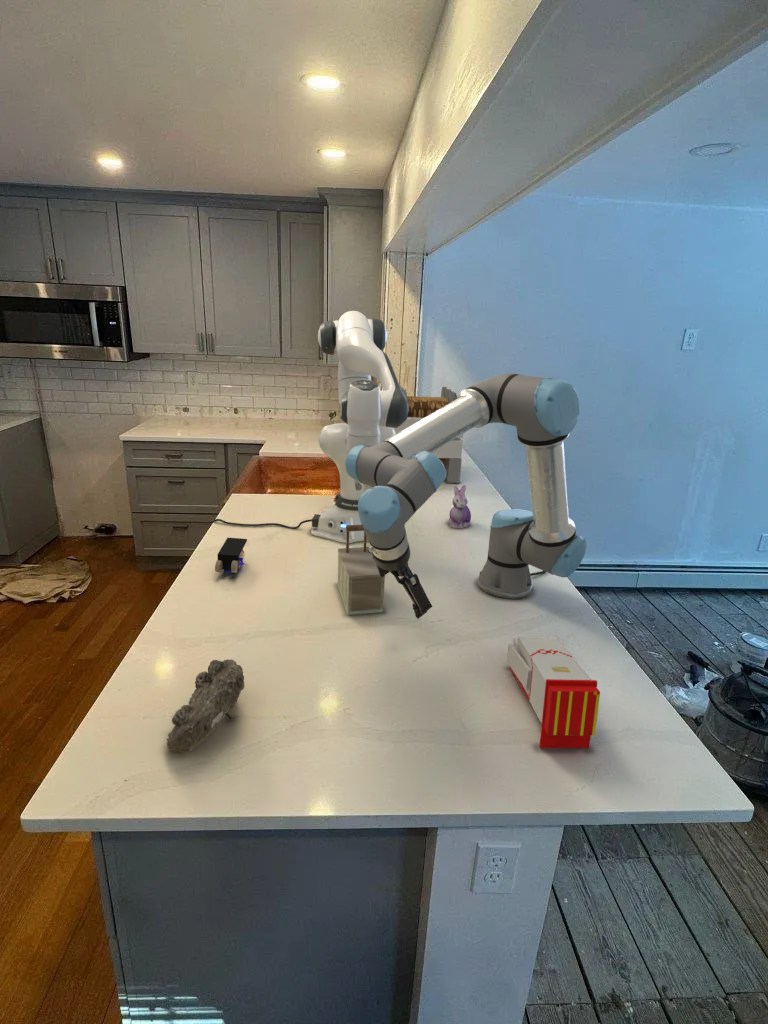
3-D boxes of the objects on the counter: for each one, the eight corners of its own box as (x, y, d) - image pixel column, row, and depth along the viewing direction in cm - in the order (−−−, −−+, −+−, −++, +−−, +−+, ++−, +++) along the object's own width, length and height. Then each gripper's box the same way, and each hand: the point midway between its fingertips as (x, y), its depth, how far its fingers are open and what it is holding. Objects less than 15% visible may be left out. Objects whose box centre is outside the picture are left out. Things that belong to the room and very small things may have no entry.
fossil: (192, 660, 117) (244, 628, 112) (224, 691, 120) (276, 661, 115) (142, 746, 98) (202, 712, 93) (182, 779, 101) (242, 748, 96)
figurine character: (238, 584, 162) (249, 557, 175) (236, 562, 158) (247, 536, 172) (215, 584, 161) (227, 556, 175) (212, 561, 158) (225, 535, 171)
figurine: (456, 530, 205) (460, 491, 199) (441, 521, 213) (444, 483, 208) (477, 527, 209) (481, 488, 204) (461, 518, 217) (465, 480, 212)
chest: (337, 584, 162) (338, 552, 158) (369, 582, 164) (370, 550, 160) (347, 614, 146) (348, 580, 143) (383, 612, 148) (384, 577, 145)
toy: (554, 620, 129) (609, 687, 99) (549, 674, 131) (601, 755, 102) (501, 619, 128) (541, 686, 99) (497, 673, 131) (534, 754, 102)
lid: (337, 551, 159) (338, 522, 156) (370, 549, 161) (371, 520, 158) (348, 579, 143) (349, 547, 140) (384, 577, 145) (386, 545, 142)
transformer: (382, 463, 289) (386, 382, 275) (445, 464, 293) (451, 384, 279) (390, 482, 257) (394, 392, 243) (460, 483, 261) (468, 394, 247)
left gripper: (384, 453, 139) (382, 506, 144) (366, 436, 158) (365, 484, 162) (359, 454, 138) (358, 508, 142) (344, 436, 156) (343, 484, 161)
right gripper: (339, 517, 118) (359, 566, 135) (413, 600, 104) (424, 643, 122) (368, 497, 119) (384, 548, 137) (444, 577, 106) (451, 622, 123)
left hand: (361, 495), depth 152 cm, fingers open, 8 cm apart
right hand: (403, 593), depth 129 cm, fingers open, 13 cm apart
